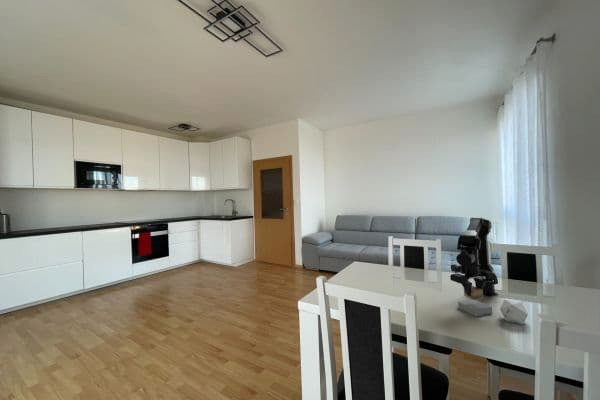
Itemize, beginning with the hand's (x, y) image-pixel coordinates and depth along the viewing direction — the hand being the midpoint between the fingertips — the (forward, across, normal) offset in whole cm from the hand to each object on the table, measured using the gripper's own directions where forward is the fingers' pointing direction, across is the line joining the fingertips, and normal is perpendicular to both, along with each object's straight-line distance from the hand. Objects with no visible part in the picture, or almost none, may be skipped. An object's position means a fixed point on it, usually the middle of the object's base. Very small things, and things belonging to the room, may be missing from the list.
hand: (473, 294), depth 107 cm
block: (+1, 0, 0) cm, 1 cm away
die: (+8, -6, +12) cm, 16 cm away
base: (+7, 0, 0) cm, 7 cm away
